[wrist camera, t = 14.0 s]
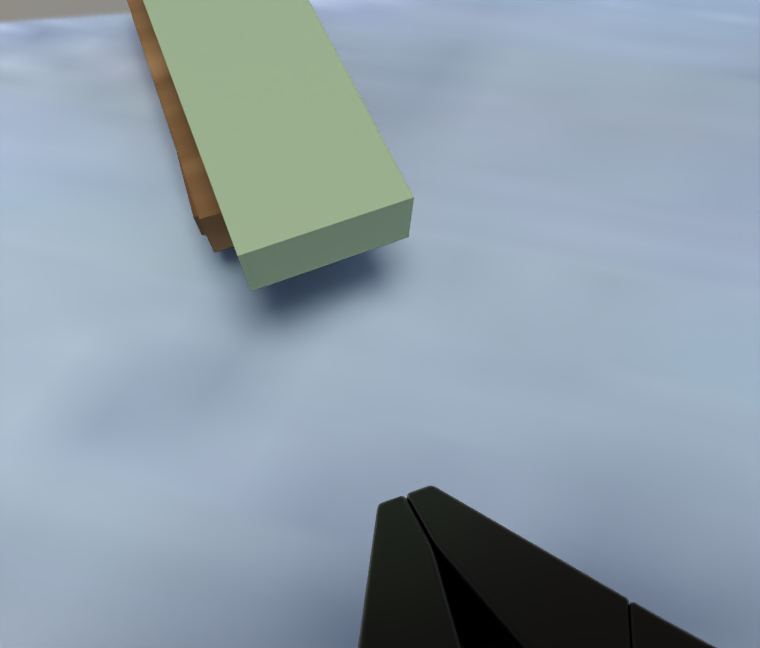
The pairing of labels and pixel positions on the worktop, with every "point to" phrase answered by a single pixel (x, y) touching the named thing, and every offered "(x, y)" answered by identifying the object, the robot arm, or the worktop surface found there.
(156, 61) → the walnut domino middle
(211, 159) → the green domino
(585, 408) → the worktop surface
